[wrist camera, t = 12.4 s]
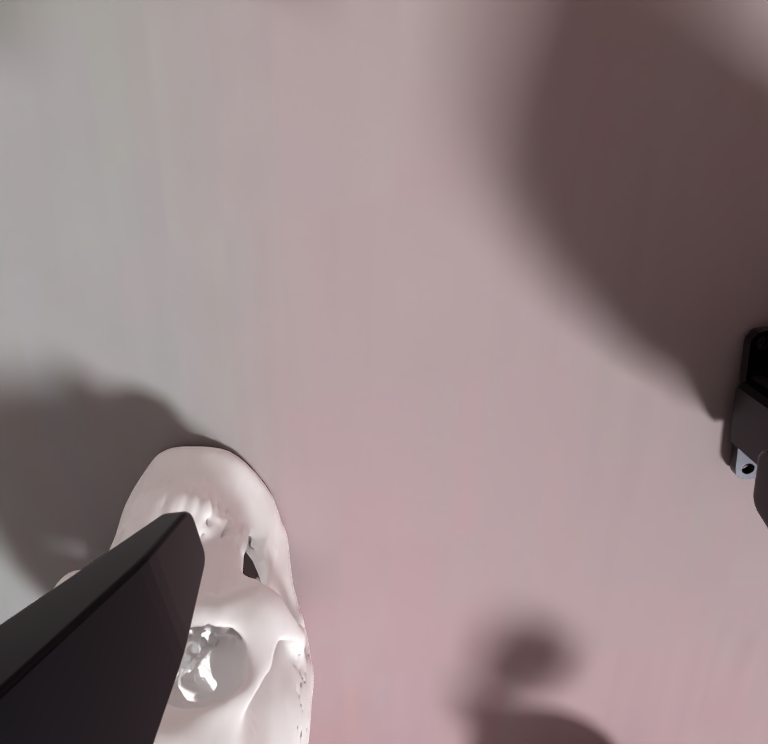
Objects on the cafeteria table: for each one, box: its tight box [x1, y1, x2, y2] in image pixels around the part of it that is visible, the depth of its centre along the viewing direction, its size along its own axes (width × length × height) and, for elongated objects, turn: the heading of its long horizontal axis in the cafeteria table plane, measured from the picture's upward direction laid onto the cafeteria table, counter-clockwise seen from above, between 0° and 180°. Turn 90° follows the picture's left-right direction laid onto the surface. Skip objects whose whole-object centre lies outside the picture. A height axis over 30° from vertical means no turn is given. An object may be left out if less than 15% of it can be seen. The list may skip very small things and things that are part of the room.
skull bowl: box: [53, 446, 314, 744], centre depth 24 cm, size 10×14×12 cm
